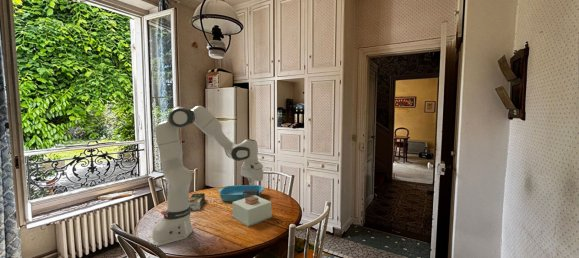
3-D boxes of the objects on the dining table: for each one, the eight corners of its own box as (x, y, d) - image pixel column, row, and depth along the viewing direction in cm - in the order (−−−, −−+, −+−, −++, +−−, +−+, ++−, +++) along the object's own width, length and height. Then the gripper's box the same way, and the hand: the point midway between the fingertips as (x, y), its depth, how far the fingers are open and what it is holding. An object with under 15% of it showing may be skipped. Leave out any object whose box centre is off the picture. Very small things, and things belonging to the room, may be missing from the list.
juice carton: (200, 210, 164) (200, 201, 164) (185, 211, 162) (185, 203, 162) (205, 200, 184) (205, 192, 184) (192, 201, 182) (191, 193, 182)
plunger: (250, 218, 148) (250, 200, 147) (245, 215, 153) (245, 198, 152) (258, 215, 152) (258, 198, 152) (253, 212, 157) (252, 195, 156)
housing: (248, 226, 139) (247, 210, 139) (231, 217, 153) (231, 202, 152) (272, 216, 152) (272, 202, 152) (255, 208, 166) (255, 194, 165)
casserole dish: (214, 203, 177) (214, 194, 176) (222, 193, 199) (222, 185, 199) (263, 202, 178) (263, 193, 178) (265, 192, 200) (265, 184, 200)
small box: (259, 203, 176) (259, 189, 176) (257, 206, 170) (257, 192, 169) (245, 202, 178) (245, 189, 177) (243, 206, 171) (242, 191, 170)
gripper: (238, 162, 156) (238, 182, 157) (256, 167, 141) (256, 189, 142) (246, 161, 160) (246, 180, 161) (264, 165, 145) (264, 187, 146)
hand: (251, 185), depth 151 cm, fingers closed
